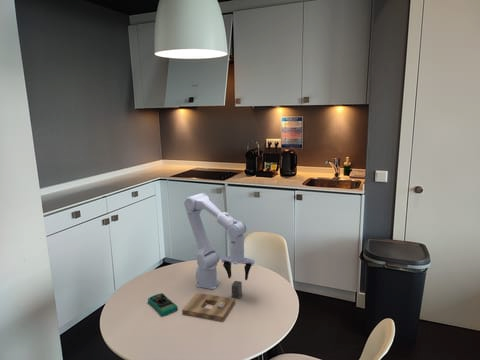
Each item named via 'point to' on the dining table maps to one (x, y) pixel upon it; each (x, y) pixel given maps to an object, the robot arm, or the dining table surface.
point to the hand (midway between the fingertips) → (238, 278)
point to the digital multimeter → (162, 304)
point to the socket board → (216, 313)
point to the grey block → (236, 289)
